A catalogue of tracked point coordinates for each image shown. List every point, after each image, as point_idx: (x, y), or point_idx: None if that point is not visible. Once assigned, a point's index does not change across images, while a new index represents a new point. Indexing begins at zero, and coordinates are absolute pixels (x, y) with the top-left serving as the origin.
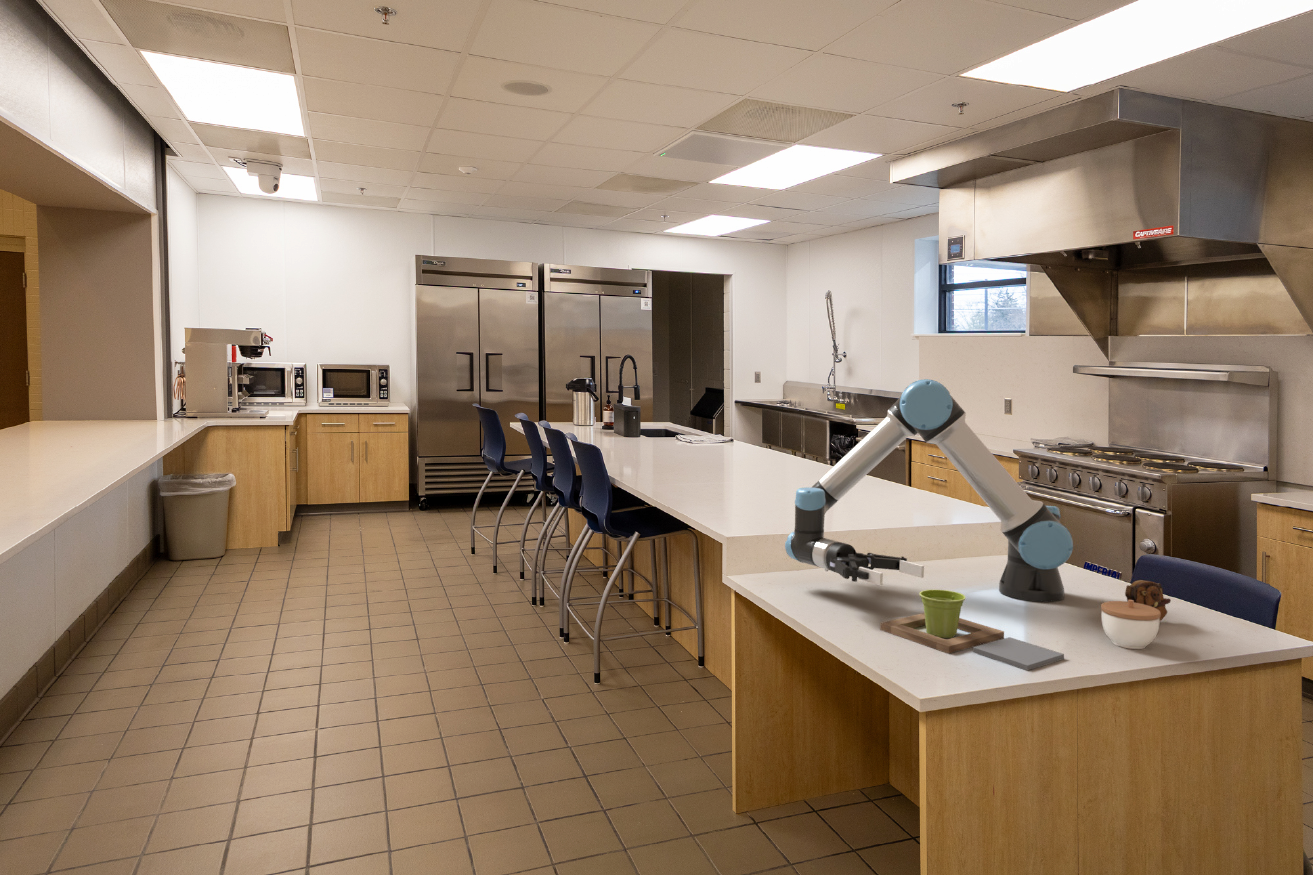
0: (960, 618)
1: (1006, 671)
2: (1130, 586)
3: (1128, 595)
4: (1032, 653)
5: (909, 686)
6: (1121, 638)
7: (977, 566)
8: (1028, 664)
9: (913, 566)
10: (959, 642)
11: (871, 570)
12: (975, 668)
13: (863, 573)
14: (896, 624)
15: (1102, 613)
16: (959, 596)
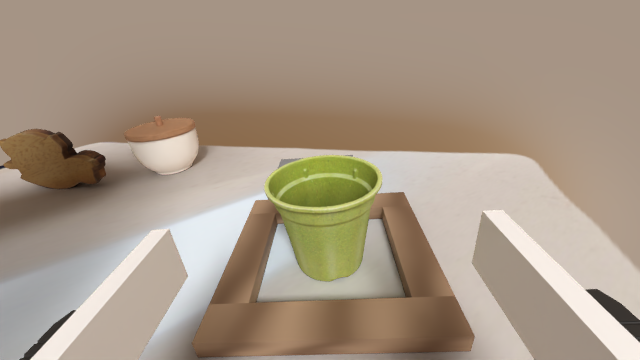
0: (229, 264)
1: (376, 163)
2: (56, 134)
3: (65, 147)
4: None
5: (534, 167)
6: (197, 152)
7: None
8: (348, 155)
9: (138, 283)
10: None
11: (547, 263)
12: (405, 173)
13: (619, 308)
14: (426, 301)
15: (172, 140)
16: (277, 179)
